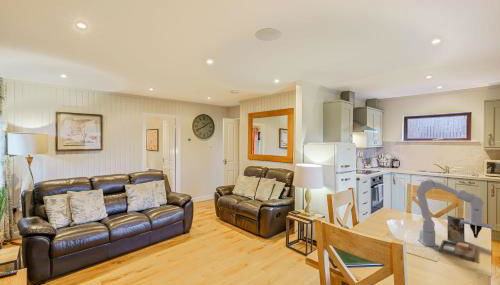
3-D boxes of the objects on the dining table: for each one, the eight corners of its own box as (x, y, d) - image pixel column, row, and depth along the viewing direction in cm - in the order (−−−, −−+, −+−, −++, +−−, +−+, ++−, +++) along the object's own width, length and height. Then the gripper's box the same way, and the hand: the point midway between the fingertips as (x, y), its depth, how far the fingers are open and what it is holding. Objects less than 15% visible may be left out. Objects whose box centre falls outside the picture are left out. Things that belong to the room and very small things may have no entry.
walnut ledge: (454, 256, 146) (454, 252, 146) (456, 245, 161) (456, 242, 161) (474, 261, 140) (474, 258, 140) (475, 249, 154) (475, 246, 154)
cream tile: (443, 250, 153) (443, 247, 152) (444, 248, 156) (444, 245, 156) (453, 253, 149) (453, 250, 149) (454, 250, 153) (454, 247, 153)
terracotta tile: (457, 247, 154) (457, 244, 154) (458, 244, 157) (458, 242, 157) (468, 249, 150) (468, 246, 150) (468, 247, 154) (468, 244, 154)
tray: (439, 251, 152) (439, 248, 152) (442, 242, 165) (442, 239, 165) (454, 255, 147) (454, 252, 147) (456, 246, 160) (456, 243, 160)
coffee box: (464, 240, 168) (465, 218, 167) (464, 243, 163) (464, 220, 163) (447, 237, 174) (448, 215, 174) (447, 240, 169) (447, 217, 169)
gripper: (459, 214, 151) (459, 235, 151) (492, 219, 140) (492, 242, 141) (460, 212, 156) (460, 232, 156) (492, 217, 145) (492, 239, 146)
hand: (475, 237), depth 149 cm, fingers closed
